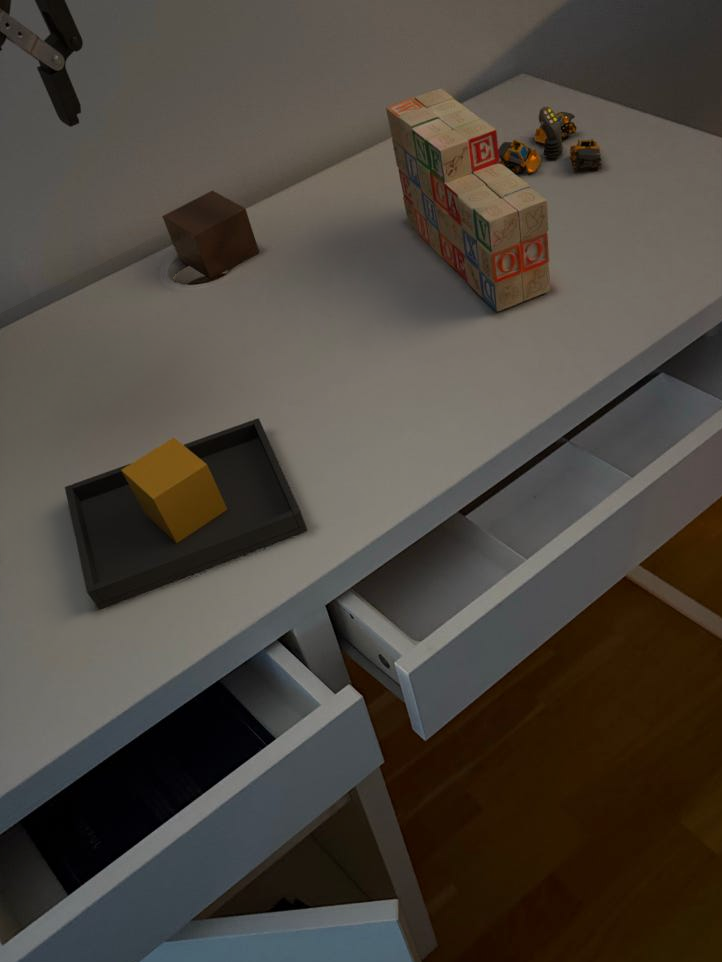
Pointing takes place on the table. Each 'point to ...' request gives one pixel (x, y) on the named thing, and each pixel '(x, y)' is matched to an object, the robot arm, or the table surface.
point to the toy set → (551, 145)
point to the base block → (211, 234)
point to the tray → (160, 560)
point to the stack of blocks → (470, 199)
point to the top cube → (175, 489)
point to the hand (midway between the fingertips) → (18, 145)
